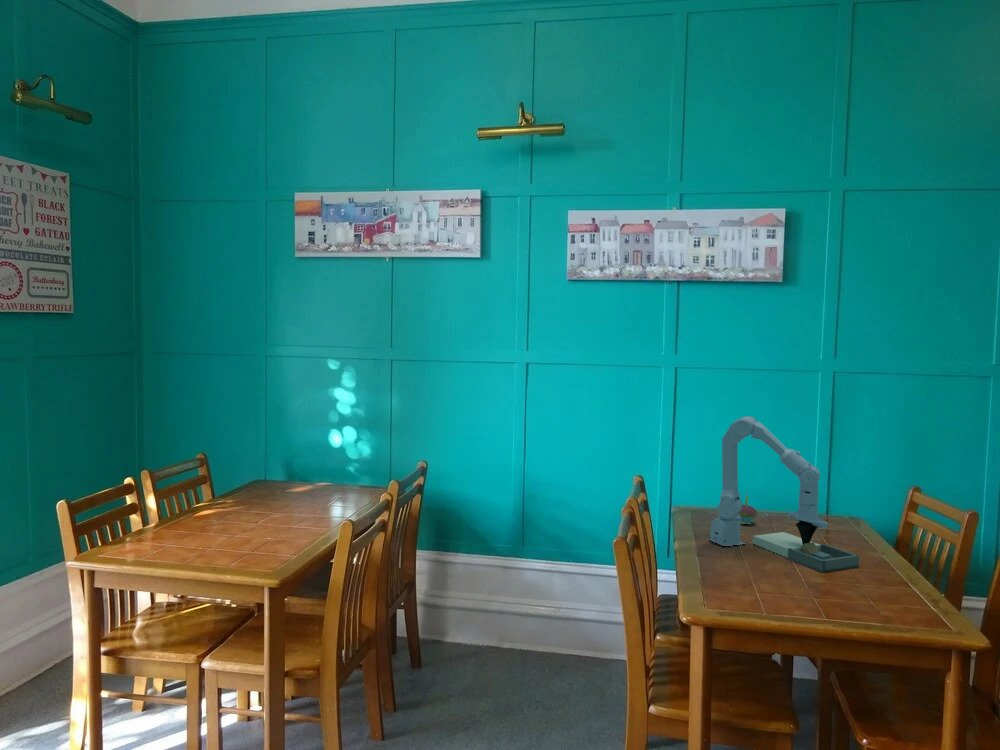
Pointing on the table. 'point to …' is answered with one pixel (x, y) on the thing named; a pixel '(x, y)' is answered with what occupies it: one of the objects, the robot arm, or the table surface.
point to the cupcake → (747, 513)
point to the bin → (837, 561)
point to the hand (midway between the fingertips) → (806, 545)
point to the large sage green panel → (780, 542)
